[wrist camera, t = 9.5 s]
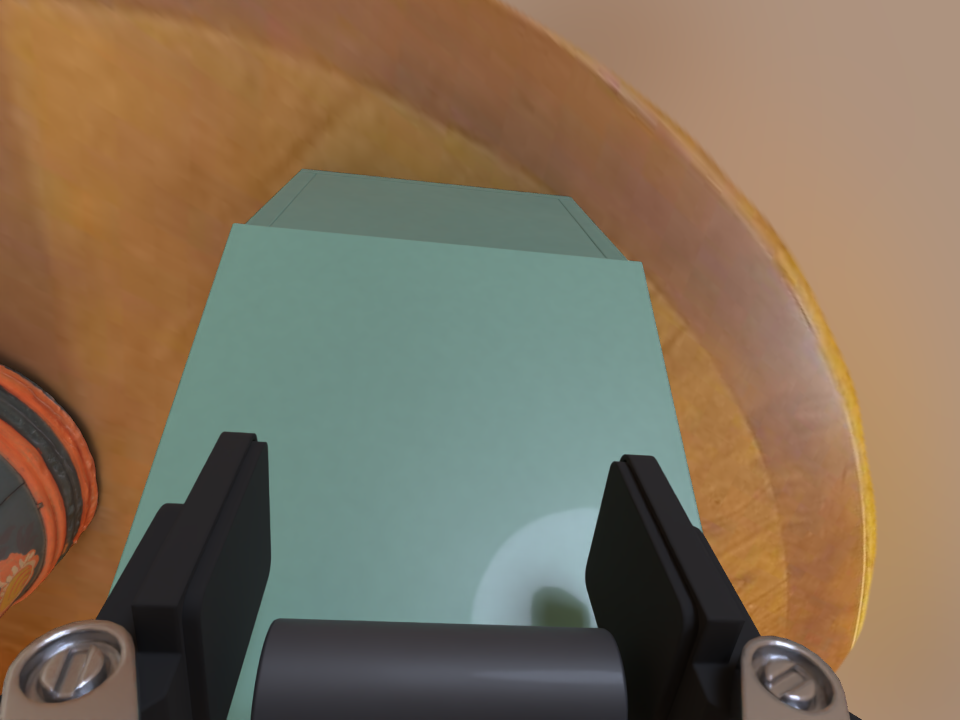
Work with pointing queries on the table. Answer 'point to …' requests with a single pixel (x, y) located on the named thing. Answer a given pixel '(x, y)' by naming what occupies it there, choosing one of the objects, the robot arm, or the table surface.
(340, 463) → the lid
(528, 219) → the chest
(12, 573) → the beer stein
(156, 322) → the table surface
